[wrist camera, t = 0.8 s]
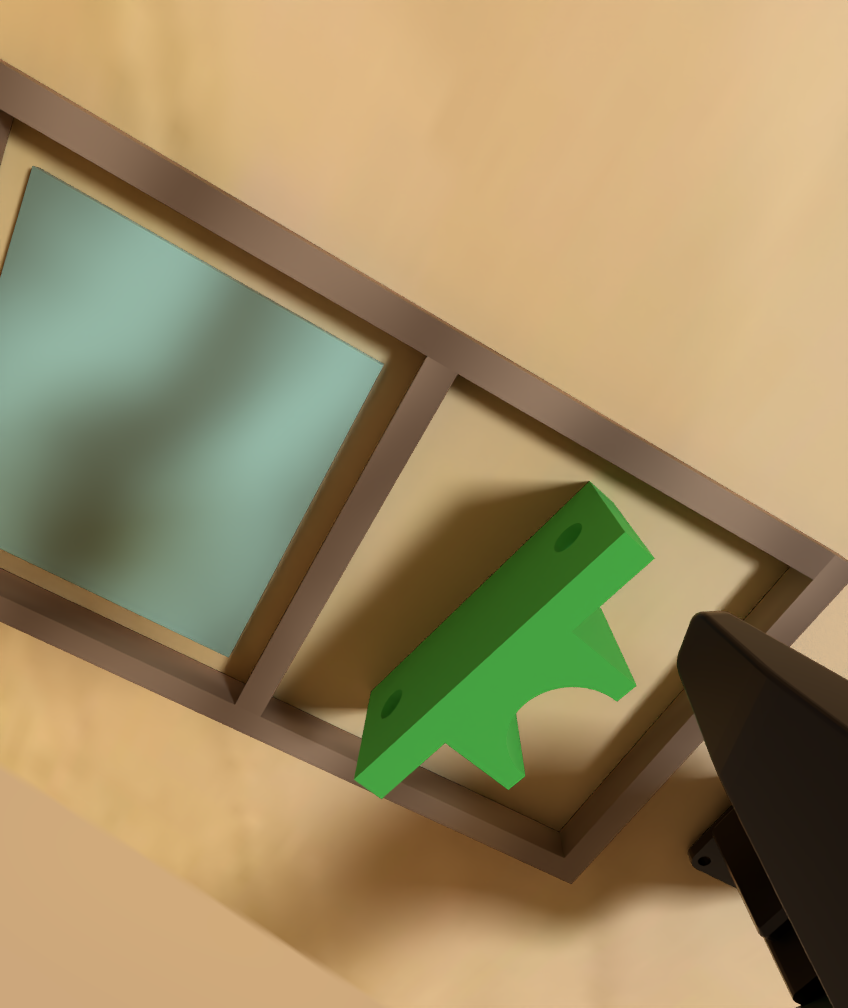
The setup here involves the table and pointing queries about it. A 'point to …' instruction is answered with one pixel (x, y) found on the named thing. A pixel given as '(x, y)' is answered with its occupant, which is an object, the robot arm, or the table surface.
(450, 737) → the pipe clamp
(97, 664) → the sorting frame
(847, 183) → the table surface
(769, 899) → the robot arm
